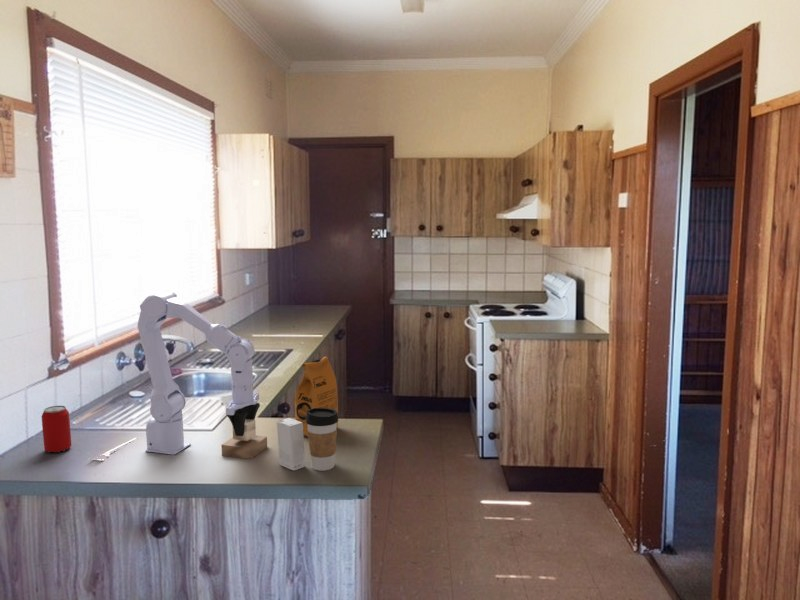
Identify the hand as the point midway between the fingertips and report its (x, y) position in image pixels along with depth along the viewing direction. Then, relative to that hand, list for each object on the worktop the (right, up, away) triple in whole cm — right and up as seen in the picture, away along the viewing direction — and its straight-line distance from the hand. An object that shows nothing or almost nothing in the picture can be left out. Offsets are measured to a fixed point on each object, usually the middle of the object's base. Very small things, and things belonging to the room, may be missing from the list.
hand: (244, 432), depth 178 cm
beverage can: (-53, -6, +2) cm, 53 cm away
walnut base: (0, -5, +1) cm, 5 cm away
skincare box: (+15, -7, -9) cm, 19 cm away
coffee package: (+18, -3, +16) cm, 25 cm away
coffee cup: (+23, -7, -10) cm, 26 cm away
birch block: (0, -1, 0) cm, 1 cm away
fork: (-36, -6, +2) cm, 37 cm away
